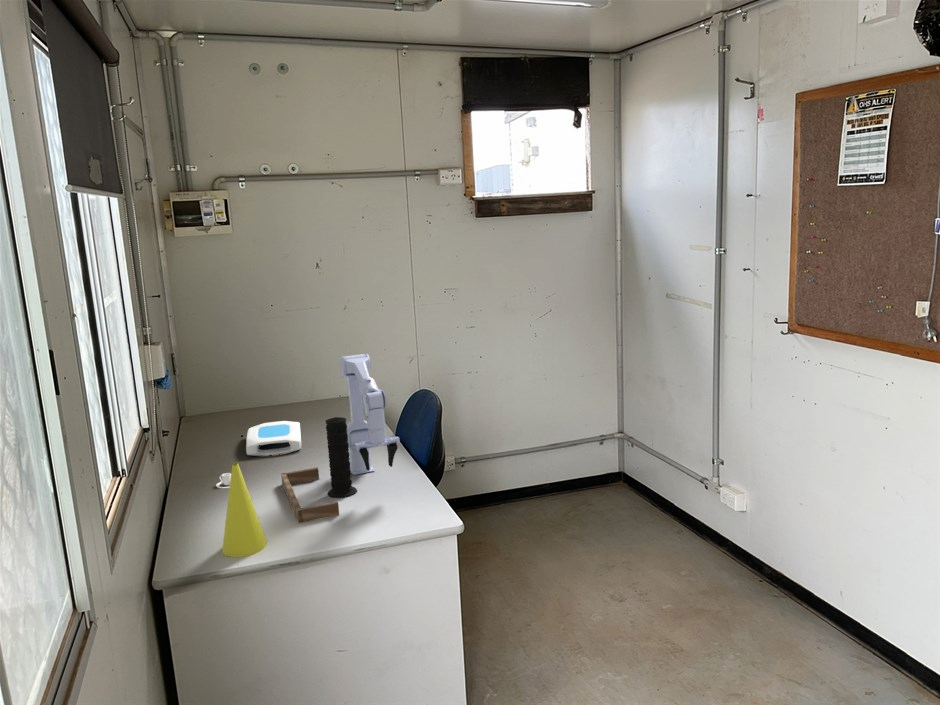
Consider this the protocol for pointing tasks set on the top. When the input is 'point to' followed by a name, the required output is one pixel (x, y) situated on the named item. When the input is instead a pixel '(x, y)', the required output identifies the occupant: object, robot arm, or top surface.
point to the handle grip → (339, 458)
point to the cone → (241, 520)
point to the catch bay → (299, 512)
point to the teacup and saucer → (225, 480)
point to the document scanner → (273, 437)
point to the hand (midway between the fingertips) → (379, 467)
